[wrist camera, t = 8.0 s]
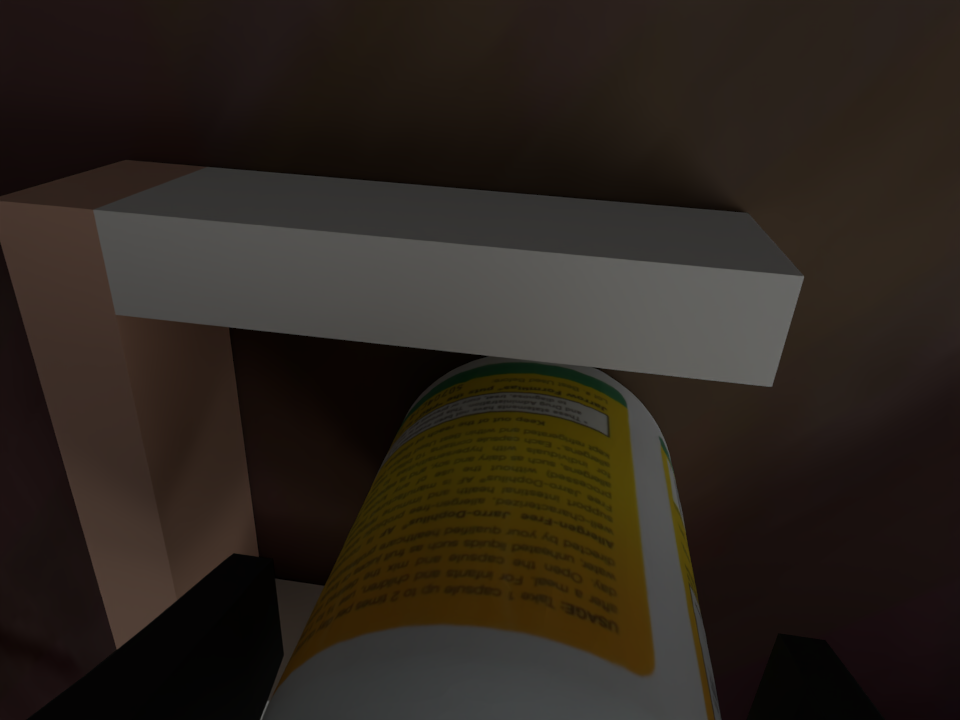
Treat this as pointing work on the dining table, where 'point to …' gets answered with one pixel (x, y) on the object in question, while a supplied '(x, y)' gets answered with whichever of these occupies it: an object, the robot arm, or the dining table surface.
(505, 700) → the supplement bottle
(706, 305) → the frame
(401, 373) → the dining table surface
